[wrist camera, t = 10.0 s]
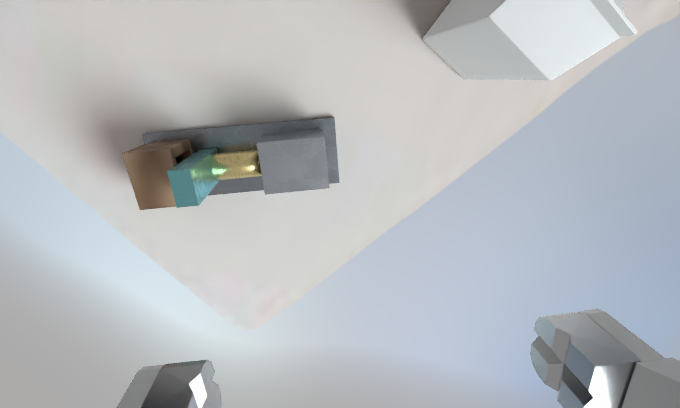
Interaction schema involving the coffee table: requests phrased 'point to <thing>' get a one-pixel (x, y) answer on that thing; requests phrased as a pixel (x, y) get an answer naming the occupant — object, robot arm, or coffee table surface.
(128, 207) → the coffee table surface
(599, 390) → the robot arm
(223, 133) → the grey base plate
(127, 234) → the coffee table surface
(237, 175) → the rod
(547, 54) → the milk carton
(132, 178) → the socket
